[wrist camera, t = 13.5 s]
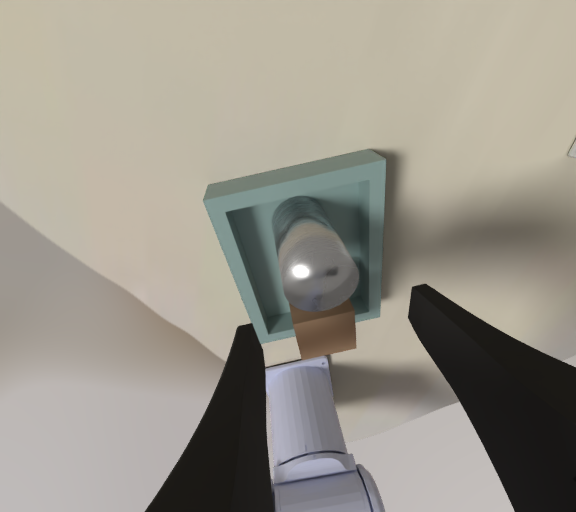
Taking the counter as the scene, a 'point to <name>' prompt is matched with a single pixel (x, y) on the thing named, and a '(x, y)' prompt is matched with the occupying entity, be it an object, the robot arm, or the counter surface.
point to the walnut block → (324, 330)
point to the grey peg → (312, 256)
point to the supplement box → (573, 151)
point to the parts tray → (260, 240)
